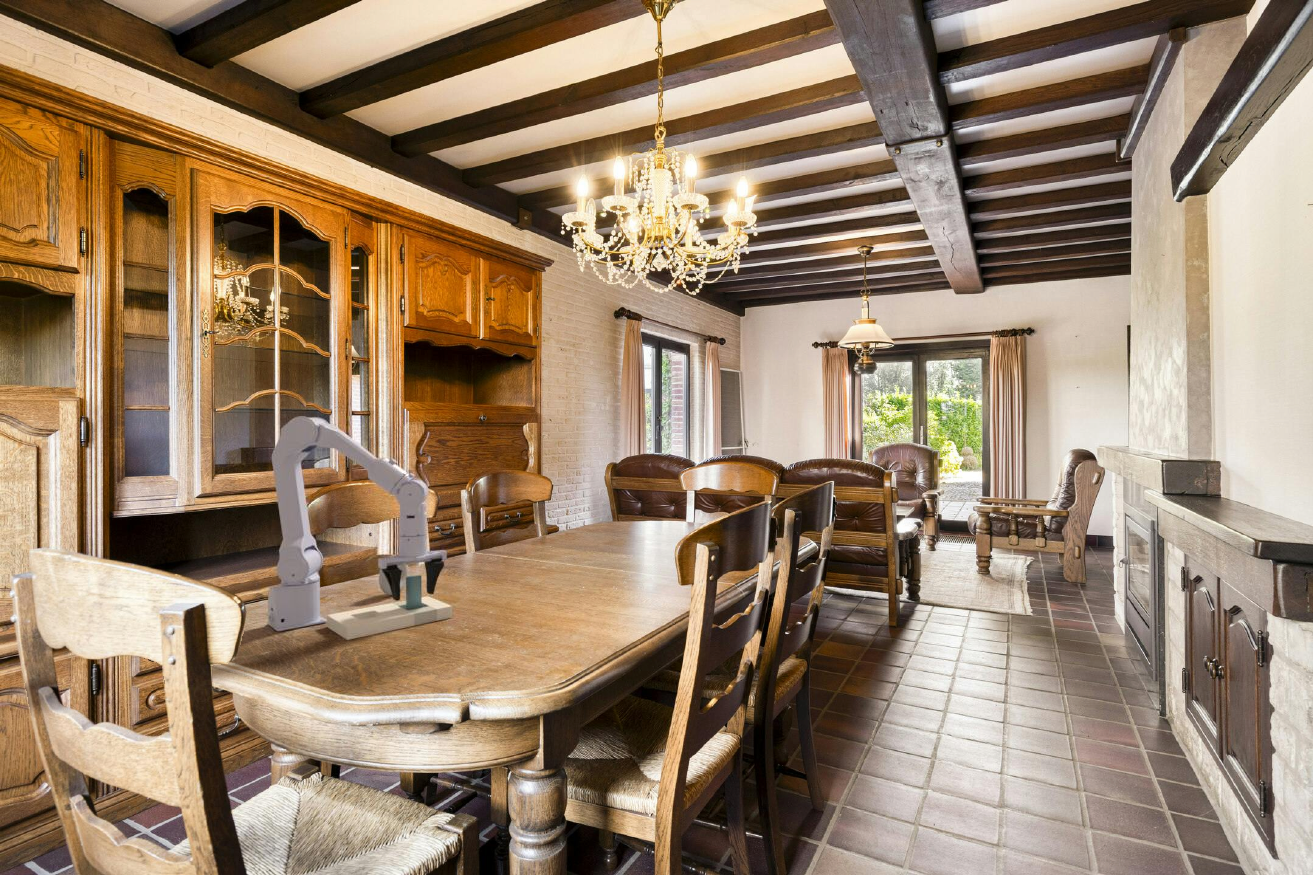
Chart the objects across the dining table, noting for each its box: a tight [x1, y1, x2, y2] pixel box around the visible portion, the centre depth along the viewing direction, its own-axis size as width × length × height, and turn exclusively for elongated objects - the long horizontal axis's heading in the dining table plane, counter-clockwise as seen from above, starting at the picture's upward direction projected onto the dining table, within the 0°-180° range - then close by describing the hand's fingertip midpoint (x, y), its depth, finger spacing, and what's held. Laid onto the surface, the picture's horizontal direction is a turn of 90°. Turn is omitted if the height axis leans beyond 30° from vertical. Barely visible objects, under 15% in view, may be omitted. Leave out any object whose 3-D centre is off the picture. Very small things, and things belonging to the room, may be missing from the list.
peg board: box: [326, 596, 453, 641], centre depth 140 cm, size 22×12×2 cm, turn 134°
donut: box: [378, 554, 409, 596], centre depth 164 cm, size 10×4×10 cm, turn 170°
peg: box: [405, 574, 423, 610], centre depth 143 cm, size 3×3×9 cm
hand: (413, 596), depth 144 cm, fingers open, 7 cm apart
